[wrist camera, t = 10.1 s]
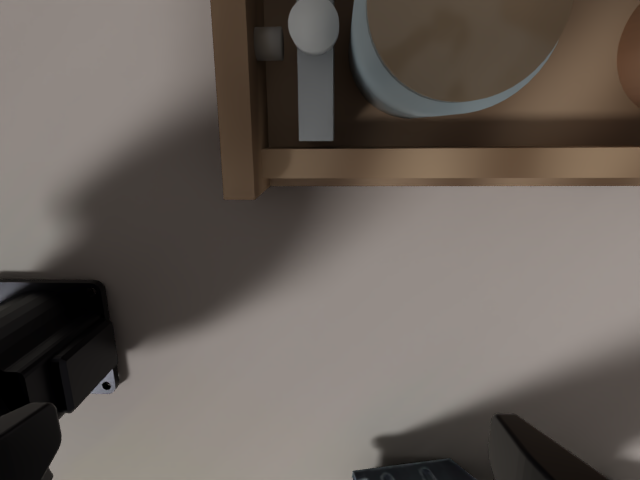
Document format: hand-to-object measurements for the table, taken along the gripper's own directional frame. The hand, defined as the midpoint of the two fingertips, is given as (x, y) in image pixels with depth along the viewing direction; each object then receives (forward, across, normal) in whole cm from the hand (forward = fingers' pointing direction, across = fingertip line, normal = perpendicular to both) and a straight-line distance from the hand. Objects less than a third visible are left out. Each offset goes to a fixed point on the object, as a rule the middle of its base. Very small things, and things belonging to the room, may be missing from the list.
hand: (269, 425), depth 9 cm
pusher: (+12, 0, -9) cm, 15 cm away
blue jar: (+12, -4, -9) cm, 16 cm away
